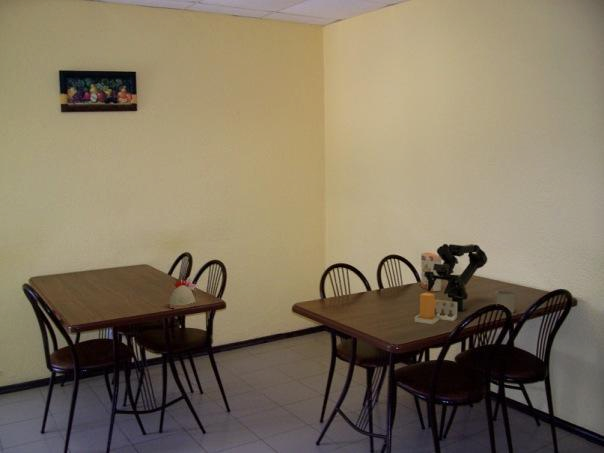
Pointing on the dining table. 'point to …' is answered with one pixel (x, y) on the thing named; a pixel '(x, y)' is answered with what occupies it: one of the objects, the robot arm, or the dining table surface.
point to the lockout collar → (428, 321)
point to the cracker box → (428, 265)
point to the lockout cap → (427, 305)
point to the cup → (506, 299)
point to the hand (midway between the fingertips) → (436, 292)
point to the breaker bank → (446, 310)
